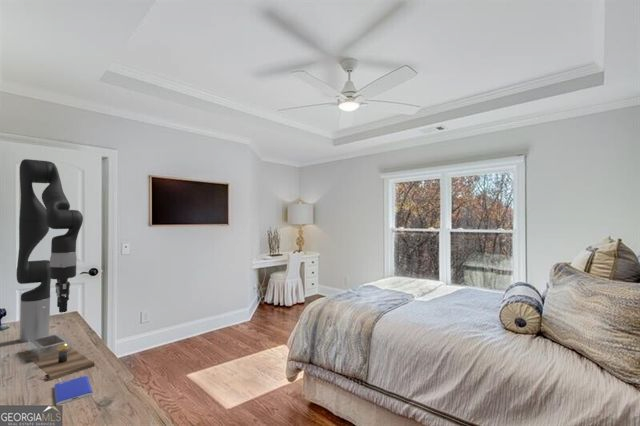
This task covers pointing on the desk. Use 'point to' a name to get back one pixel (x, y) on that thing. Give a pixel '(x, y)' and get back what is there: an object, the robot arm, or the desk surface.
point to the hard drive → (72, 390)
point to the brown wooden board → (62, 364)
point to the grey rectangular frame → (47, 346)
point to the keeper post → (62, 352)
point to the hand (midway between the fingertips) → (61, 309)
